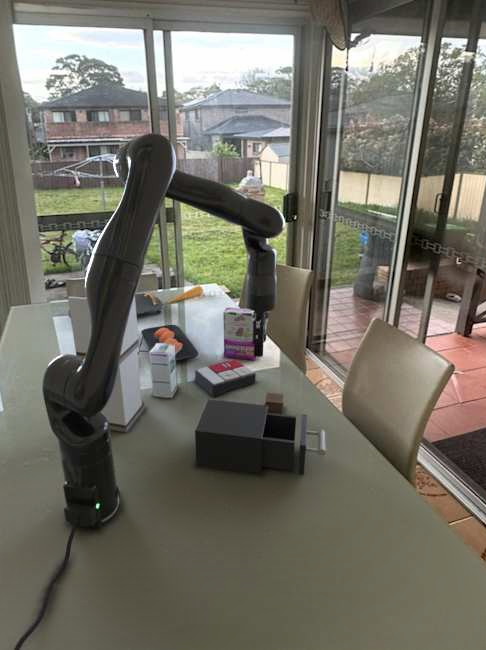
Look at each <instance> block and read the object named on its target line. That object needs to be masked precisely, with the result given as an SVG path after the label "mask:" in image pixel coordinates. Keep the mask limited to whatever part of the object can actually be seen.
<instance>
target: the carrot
mask: <svg viewBox="0 0 486 650" xmlns="http://www.w3.org/2000/svg"><path fill="white" fill-rule="evenodd" d="M203 293H204V288H203V286H200V285H196V286H194V287H192V288H190V289H189V290H187V291H185V292H183V293H181V294H179V295H177V296H176V297H173V298H172V299H170V300H168V301H167V302H166V304H169V303H174V302H178V301H182V300H186V299H190V298H195V297H198V296H201V295H202V294H203Z"/></svg>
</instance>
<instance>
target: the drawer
mask: <svg viewBox="0 0 486 650" xmlns="http://www.w3.org/2000/svg"><path fill="white" fill-rule="evenodd" d="M300 424H301V425H300V426H301V427H300V436H299V437H300V439H299V454H298V455H299V456H298V471H297V475H299V476H304V475H305V465H306V452H310V453H311V452H312V453H317V454H319V456H326V454H327V443H326V441H327V440H326V439H327V438H326V431H325V430H324V429H319V430H318V431H317V430H316V431H315V430H308V414H305V413H302V414H301V423H300ZM296 425H297V415H292V414H291V415H290V414H284V413H283V414H274V413H267V417H266V422H265V427H264V433H263V438H262V465H261V466H262V468H263V467H264V468H270V469H279V470H286V471H293V469H294V468H293V467H294V455H295V443H296V427H297V426H296ZM307 435H312V436H317V443H318V444H317V448H316V447H307Z"/></svg>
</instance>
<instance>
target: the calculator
mask: <svg viewBox="0 0 486 650" xmlns="http://www.w3.org/2000/svg"><path fill="white" fill-rule="evenodd" d="M256 375H257V374H256V373H255V372H254V371H253V370H252V369H250V368H249V367H247V366H246V365H244V364H243V363H241V362H240V361H239V360H237V358H234V359H231V360H227V361H223V362H219V363H216V364H211V365H208V366H205V367H201V368H198V369H195V370H194V381H195V382H196V383H197V384H198V385H199V386H200V387H201V388H203V390H205V391H206V392H207V393H208V394H209V395H210V396H211V397H214V398H215V397H217V396H221V395H224V394H226V393H227V392H229V391H231V390H232V391H233V390H235V389H239V388H242V387H246V386H249V385H252V384H256Z"/></svg>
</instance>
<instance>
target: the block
mask: <svg viewBox="0 0 486 650" xmlns="http://www.w3.org/2000/svg"><path fill="white" fill-rule="evenodd" d="M284 399H285V393H275V392H266V396H265V401H264V402H265V403H264V405H266V406H268V413H274V414H283V415H284V413H283V412H284Z"/></svg>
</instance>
